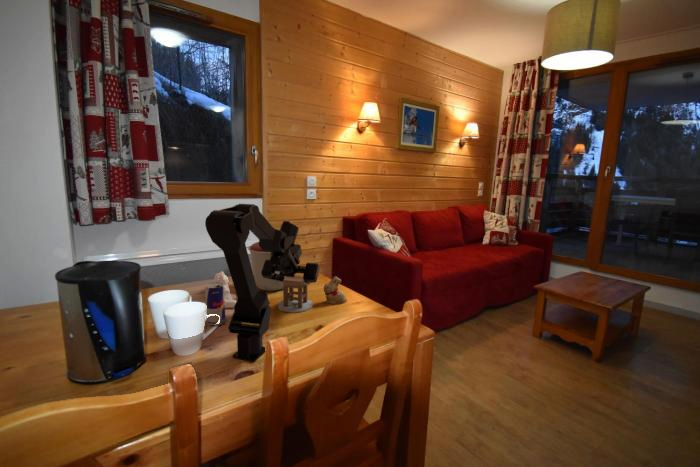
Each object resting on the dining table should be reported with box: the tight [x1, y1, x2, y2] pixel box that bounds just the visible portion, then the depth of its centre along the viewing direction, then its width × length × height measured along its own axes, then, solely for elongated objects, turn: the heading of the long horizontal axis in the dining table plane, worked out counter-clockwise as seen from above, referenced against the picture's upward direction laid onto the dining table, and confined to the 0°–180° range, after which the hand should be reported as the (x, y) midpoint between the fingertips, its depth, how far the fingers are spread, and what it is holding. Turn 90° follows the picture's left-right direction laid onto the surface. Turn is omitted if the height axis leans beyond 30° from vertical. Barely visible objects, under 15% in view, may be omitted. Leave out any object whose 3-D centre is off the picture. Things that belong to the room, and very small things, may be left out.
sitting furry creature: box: [214, 271, 237, 309], centre depth 115 cm, size 10×9×12 cm
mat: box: [277, 298, 314, 314], centre depth 117 cm, size 12×12×1 cm
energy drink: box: [204, 282, 227, 326], centre depth 102 cm, size 5×5×12 cm
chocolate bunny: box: [323, 275, 348, 305], centre depth 121 cm, size 6×8×10 cm
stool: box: [282, 274, 308, 308], centre depth 116 cm, size 6×6×10 cm
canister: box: [247, 241, 286, 292], centre depth 133 cm, size 18×18×21 cm
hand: (296, 281), depth 117 cm, fingers open, 9 cm apart
